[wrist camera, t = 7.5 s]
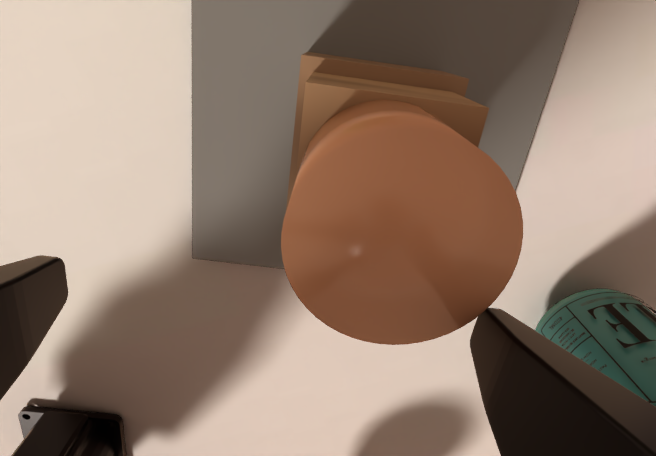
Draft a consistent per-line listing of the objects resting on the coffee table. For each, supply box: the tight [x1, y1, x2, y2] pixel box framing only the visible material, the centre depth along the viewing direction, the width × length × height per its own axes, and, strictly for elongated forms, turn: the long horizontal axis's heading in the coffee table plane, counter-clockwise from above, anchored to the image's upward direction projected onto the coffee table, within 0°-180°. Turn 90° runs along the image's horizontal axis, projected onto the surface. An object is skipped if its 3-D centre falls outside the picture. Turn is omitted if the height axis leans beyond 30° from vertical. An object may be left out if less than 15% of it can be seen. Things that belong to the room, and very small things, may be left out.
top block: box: [295, 72, 489, 181], centre depth 14 cm, size 5×5×4 cm
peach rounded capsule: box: [281, 100, 523, 345], centre depth 10 cm, size 5×5×4 cm
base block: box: [286, 52, 469, 210], centre depth 18 cm, size 6×6×4 cm
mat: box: [192, 0, 579, 269], centre depth 20 cm, size 16×16×1 cm
